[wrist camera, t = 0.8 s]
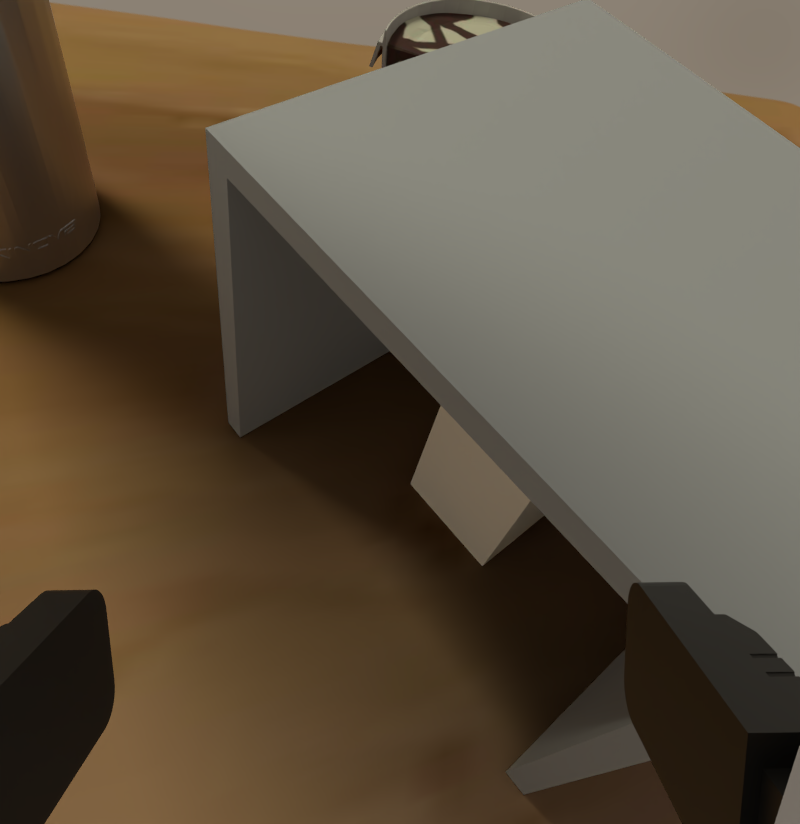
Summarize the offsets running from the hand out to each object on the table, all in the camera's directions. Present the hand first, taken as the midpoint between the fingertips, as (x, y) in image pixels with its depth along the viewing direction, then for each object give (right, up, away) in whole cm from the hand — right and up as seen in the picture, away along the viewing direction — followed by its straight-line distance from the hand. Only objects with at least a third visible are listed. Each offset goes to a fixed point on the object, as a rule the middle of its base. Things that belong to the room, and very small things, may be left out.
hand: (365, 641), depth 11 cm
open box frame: (+5, 0, +23) cm, 24 cm away
